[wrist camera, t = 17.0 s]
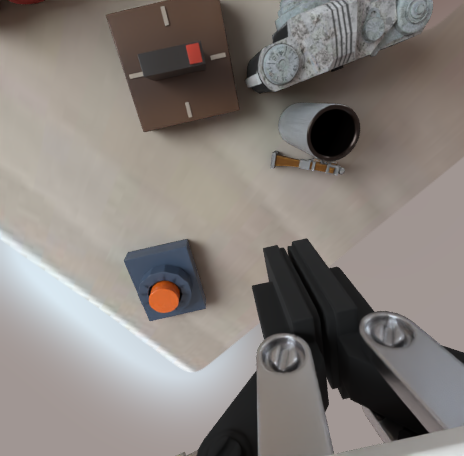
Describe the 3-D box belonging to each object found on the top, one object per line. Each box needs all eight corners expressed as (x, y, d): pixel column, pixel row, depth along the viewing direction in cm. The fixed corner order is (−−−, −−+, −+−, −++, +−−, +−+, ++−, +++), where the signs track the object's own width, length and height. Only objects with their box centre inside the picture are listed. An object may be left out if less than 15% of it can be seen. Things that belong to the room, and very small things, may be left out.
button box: (127, 252, 38) (119, 268, 34) (187, 238, 38) (185, 253, 34) (152, 310, 42) (147, 330, 38) (205, 298, 42) (205, 317, 38)
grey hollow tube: (278, 146, 34) (306, 164, 24) (277, 105, 32) (306, 107, 23) (316, 142, 34) (358, 158, 25) (317, 100, 32) (363, 100, 23)
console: (115, 22, 28) (104, 14, 25) (216, -1, 28) (217, -13, 25) (148, 129, 32) (143, 132, 29) (236, 109, 32) (240, 110, 29)
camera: (372, -30, 28) (454, -94, 19) (381, 47, 30) (456, 25, 21) (229, 30, 29) (240, -3, 20) (250, 99, 31) (268, 99, 22)
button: (147, 284, 36) (144, 292, 34) (175, 277, 36) (173, 286, 34) (156, 306, 37) (154, 315, 36) (183, 300, 37) (182, 309, 36)
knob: (154, 81, 27) (143, 77, 23) (148, 61, 27) (136, 53, 22) (205, 69, 27) (205, 63, 23) (201, 50, 27) (200, 39, 22)
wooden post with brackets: (342, 173, 35) (342, 181, 31) (277, 162, 37) (269, 168, 33) (346, 158, 34) (346, 164, 30) (279, 148, 36) (272, 152, 32)
